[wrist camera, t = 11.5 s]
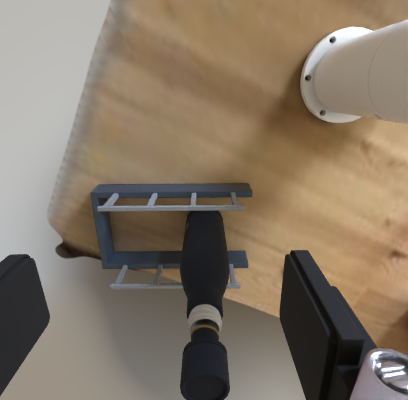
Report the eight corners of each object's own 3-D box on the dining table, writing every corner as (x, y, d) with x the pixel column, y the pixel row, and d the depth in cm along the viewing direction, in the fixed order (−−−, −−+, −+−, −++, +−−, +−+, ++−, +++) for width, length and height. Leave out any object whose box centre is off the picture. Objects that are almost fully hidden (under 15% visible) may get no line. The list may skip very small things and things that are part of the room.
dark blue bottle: (226, 233, 51) (253, 410, 23) (191, 240, 51) (176, 422, 23) (218, 200, 48) (237, 353, 20) (182, 209, 49) (152, 368, 21)
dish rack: (248, 183, 47) (259, 204, 38) (244, 255, 52) (253, 289, 43) (99, 184, 47) (74, 206, 38) (109, 256, 52) (90, 290, 43)
